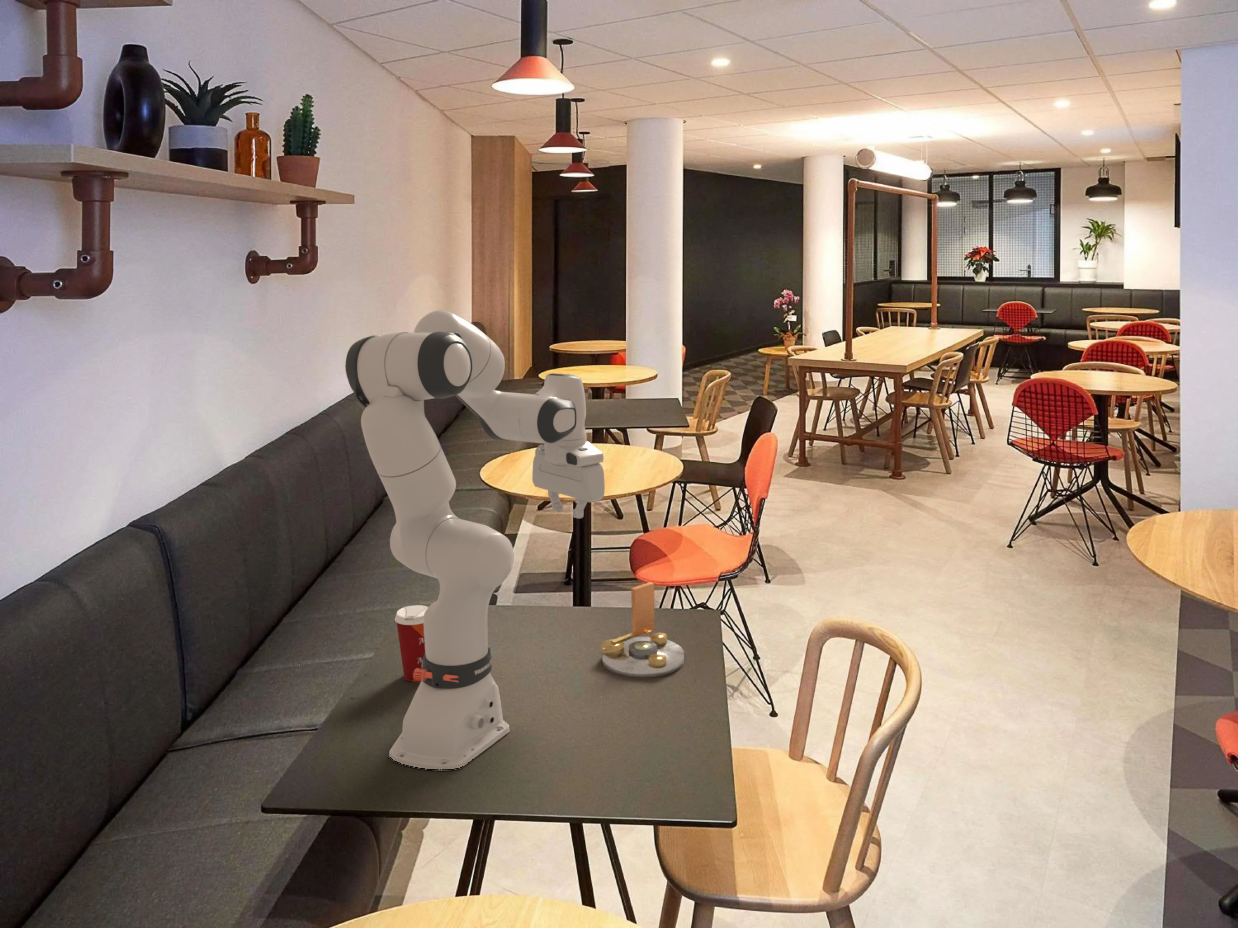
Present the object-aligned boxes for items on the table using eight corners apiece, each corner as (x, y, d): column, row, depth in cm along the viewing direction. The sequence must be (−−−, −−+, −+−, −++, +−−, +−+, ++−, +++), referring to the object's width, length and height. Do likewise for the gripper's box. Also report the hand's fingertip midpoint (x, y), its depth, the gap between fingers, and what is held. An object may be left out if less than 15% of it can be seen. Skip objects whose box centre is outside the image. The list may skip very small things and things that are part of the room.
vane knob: (611, 658, 196) (610, 602, 193) (596, 651, 200) (595, 596, 197) (660, 639, 205) (660, 585, 202) (645, 632, 209) (644, 579, 206)
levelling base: (671, 682, 189) (671, 667, 188) (590, 671, 194) (590, 657, 194) (692, 648, 205) (692, 634, 204) (617, 639, 210) (617, 625, 209)
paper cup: (433, 684, 190) (428, 618, 187) (394, 684, 190) (389, 618, 187) (441, 667, 198) (437, 603, 194) (404, 667, 198) (399, 603, 195)
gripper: (523, 445, 204) (526, 507, 208) (585, 460, 189) (587, 527, 193) (547, 441, 208) (549, 502, 212) (609, 455, 194) (610, 520, 197)
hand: (567, 514), depth 202 cm, fingers open, 5 cm apart
